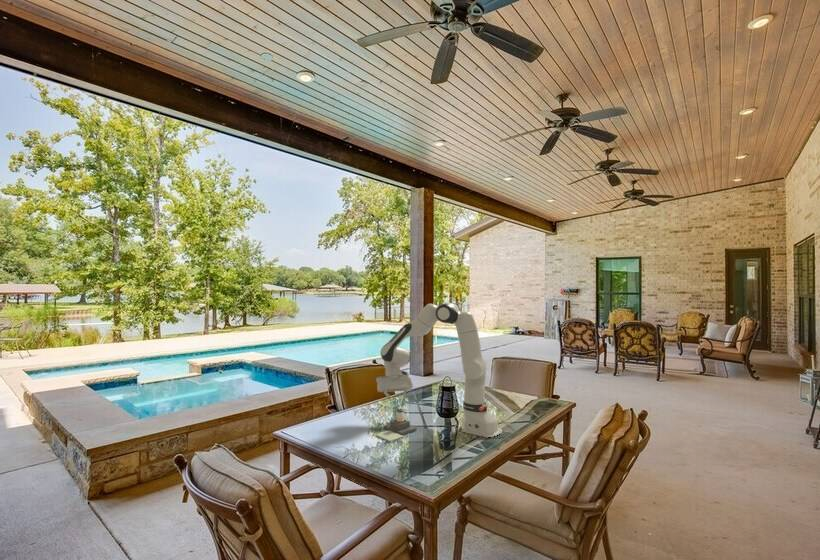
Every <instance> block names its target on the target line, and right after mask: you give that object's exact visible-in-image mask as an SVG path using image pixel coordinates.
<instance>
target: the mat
mask: <svg viewBox="0 0 820 560" xmlns="http://www.w3.org/2000/svg"><path fill="white" fill-rule="evenodd" d="M375 437H377V438H379V439H382V440H384V441H386V442H389V443H392V442H395V441H398V440H401V439H404V438H405V435H403V436H402V435H400V434H397V433H395V432H392V431H389V430H385V431H383V432H379V433H376V434H375Z"/></svg>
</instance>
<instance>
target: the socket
mask: <svg viewBox="0 0 820 560" xmlns="http://www.w3.org/2000/svg"><path fill="white" fill-rule="evenodd" d="M396 419H397V418H395V419H392V420H390V423H388V424H385V425H383V430H385V431H388V430H389V431H392V432H395V433H397V434H400V435H402V436H405V435H408V434H411V433H414V432H417V427H416V426H413V425H411V424H410V423H411V421H410V420H407V419H405V418H404V422H403V423H397V422H396Z"/></svg>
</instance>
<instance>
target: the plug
mask: <svg viewBox="0 0 820 560" xmlns="http://www.w3.org/2000/svg"><path fill="white" fill-rule="evenodd" d="M395 419H396V422H397V423H403V422H404V419H405V418H404V409H403V408H397V409H396V418H395Z"/></svg>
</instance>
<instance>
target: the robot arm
mask: <svg viewBox="0 0 820 560" xmlns="http://www.w3.org/2000/svg"><path fill="white" fill-rule="evenodd" d="M461 310H462V309H461V308H460V306H459V305H458V304H457V303H456V302H444V303H441V304H439V306H437V305H436V304H434V303H427V304H426V305H425V306H424V307H423V308H422V309H420V311H419V312H418V313H417V315H416V316H415V318H414V319H413V320H411V321H410V322H408V323H405V324H404V325H403V326H401V328H400V329H399V330H398V331H397V333H395V335H394V336H392V338H391V339H390V340H389V341H388V342H386V343H385V344H384V345H383V346H382V348H380V356H381V359H382V360H383V365H384V369H385V371H384V374H385V375H383V376H381V375H380V376H377V377H376V378H375V381H376V383H377V385H376V387H377V388H376V389H377V392H378V393H384V395H385V396H386V399H390V398H391V397H390V396H391V395H390V393H388V392H391V393H392V392H404V393H402V398H407V392H408V391H409V392H410V391H412V389H413V387H414V385H413V380H412V377H410V376H409V375H410V373H409V372H408V371H404V370H401V368H403V367H406V365H408V364H409V363H410V361H411V353H410V351H409V350H407V349H406V348H402V347H400V345H401V344H402V342H404V341H405V339H407V338H409V337H419V336H420V337H421V336H422V337H423V336H426V335H428V333H430V331H432V330H433V328H434V326H435V325H436V323H437V322H438V321H439V322H440V323H444V324H451V325H455V328H456V333H457V337H458V342H459V347H460V355H461V356H460V357H461V362H462V363H461V364H462V367H463V368H462V370H463V373H464V375H465V378H464V386H463V387H464V389H463V390H464V393H463V402H462V403H463V405H462V408H463V412H462V413H463V414H462V415H463V416H462V421H461V425H460V429H461V430H462V432H463V433H465V434H469V435H470V434H471V435H475V436H477V437H482V436H483V437H482V438H488V437H491V438H495V437H498V436H500V435H501V434H503V430H502V429H501V428H499V425H498V420H497V419H496V418H495V416H493V414H491V412H490V411H488V408H489V407H490V406H489V404H486V402H485V400H486V399H485V394H486V393H485V392H486V391H485V390H486V389H485V387H486V374H487V373H486V372H487V371H486V370H487V362H486V360H485V358H484V357H483V356H482V348H481V347H482V346H481V342H480V337H479V332H478V328H477V323H476V321H475V318H474V316H473V314H472V313H471V312H470V311H461ZM499 434H500V435H499ZM497 435H498V436H497ZM494 436H495V437H494ZM488 439H489V438H488Z"/></svg>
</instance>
